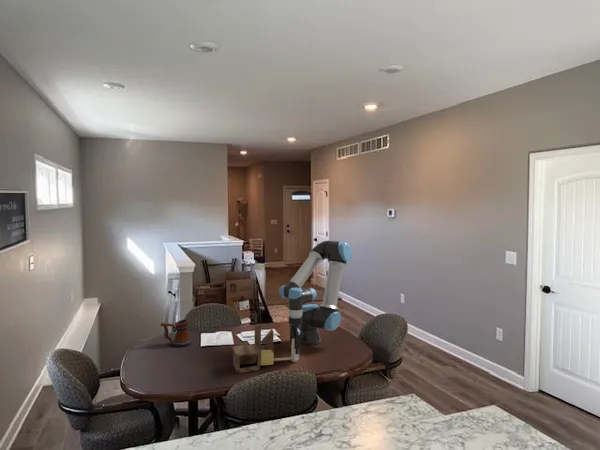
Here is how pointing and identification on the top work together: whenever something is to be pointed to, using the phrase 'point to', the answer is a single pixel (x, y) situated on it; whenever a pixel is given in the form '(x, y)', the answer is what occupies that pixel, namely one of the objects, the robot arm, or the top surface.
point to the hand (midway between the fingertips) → (295, 358)
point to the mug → (179, 333)
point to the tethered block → (268, 356)
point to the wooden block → (266, 340)
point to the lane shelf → (246, 357)
